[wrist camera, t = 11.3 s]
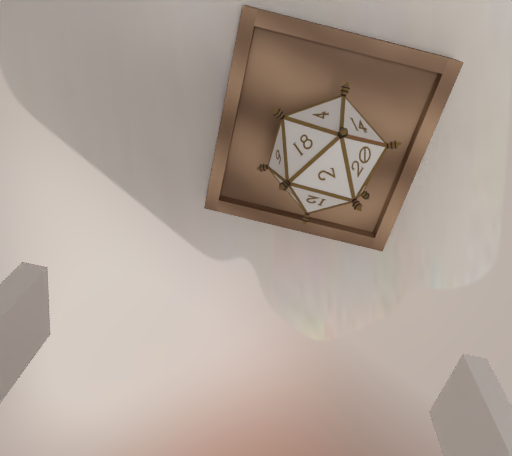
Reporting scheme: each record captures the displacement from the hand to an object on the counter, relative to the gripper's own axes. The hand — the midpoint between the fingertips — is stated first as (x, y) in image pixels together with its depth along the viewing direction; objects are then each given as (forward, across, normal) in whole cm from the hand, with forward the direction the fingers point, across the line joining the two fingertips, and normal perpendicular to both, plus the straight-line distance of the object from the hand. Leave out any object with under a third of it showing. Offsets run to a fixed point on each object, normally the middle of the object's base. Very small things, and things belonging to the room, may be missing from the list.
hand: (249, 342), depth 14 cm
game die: (+22, +3, +1) cm, 22 cm away
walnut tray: (+23, +3, +1) cm, 23 cm away
